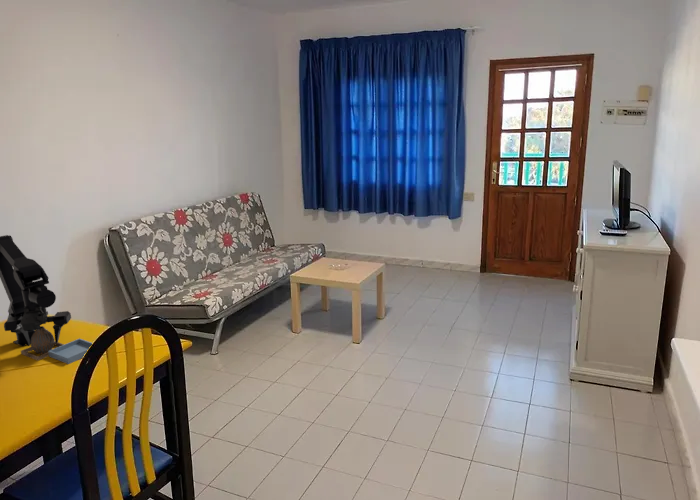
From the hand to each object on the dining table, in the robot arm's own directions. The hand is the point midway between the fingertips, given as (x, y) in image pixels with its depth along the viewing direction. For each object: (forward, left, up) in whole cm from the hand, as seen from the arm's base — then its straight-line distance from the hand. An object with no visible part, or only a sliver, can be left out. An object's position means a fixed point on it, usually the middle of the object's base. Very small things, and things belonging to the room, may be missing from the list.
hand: (43, 344), depth 175 cm
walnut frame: (0, 0, -3) cm, 3 cm away
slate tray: (+11, +4, -3) cm, 12 cm away
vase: (0, 0, -3) cm, 3 cm away
